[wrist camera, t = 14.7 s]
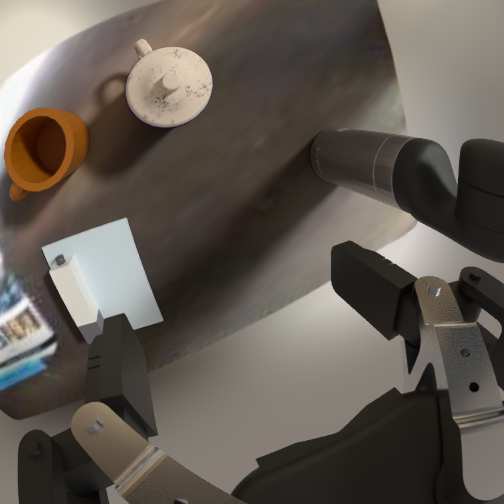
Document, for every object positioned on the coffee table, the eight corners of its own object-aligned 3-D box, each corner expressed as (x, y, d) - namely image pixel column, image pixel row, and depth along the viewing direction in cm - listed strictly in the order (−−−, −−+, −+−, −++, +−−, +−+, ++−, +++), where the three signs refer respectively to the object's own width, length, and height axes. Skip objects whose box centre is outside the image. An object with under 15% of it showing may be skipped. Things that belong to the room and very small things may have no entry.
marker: (52, 255, 33) (46, 265, 30) (71, 248, 34) (65, 258, 31) (90, 330, 39) (88, 344, 37) (107, 325, 40) (106, 339, 37)
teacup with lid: (209, 108, 34) (236, 98, 24) (150, 143, 33) (151, 146, 23) (169, 37, 28) (181, 2, 18) (108, 71, 27) (93, 46, 17)
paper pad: (126, 217, 36) (126, 218, 35) (163, 319, 44) (163, 320, 44) (42, 246, 32) (41, 247, 32) (90, 340, 41) (89, 342, 40)
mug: (7, 158, 25) (-24, 168, 18) (69, 98, 26) (47, 89, 18) (40, 206, 30) (15, 227, 22) (102, 148, 31) (89, 153, 23)
